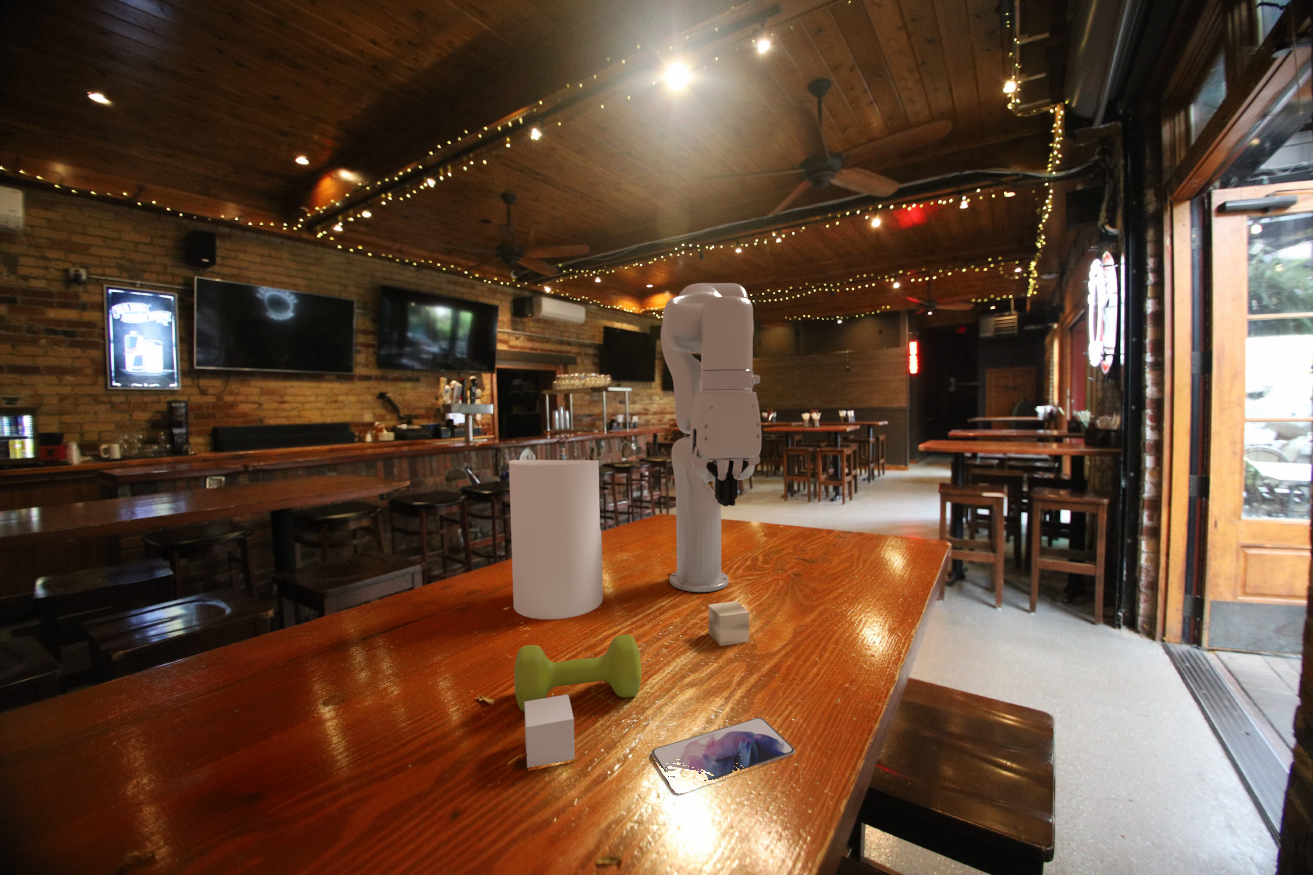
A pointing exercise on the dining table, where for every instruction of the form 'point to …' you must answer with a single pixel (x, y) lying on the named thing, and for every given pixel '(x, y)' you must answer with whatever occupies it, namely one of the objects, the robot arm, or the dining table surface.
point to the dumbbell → (578, 670)
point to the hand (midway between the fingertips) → (726, 503)
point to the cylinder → (555, 537)
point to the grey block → (549, 731)
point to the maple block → (728, 623)
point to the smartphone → (726, 749)
